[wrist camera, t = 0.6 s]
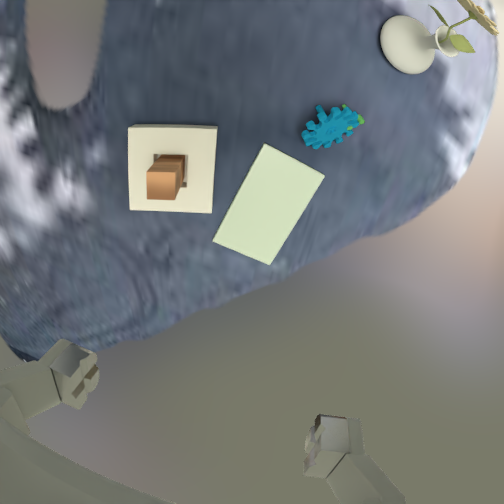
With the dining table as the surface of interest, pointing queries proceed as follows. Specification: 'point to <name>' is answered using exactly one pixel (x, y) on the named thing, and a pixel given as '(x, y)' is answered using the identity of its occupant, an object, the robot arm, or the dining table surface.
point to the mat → (267, 204)
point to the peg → (165, 177)
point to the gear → (331, 126)
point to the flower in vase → (427, 39)
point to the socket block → (173, 143)
